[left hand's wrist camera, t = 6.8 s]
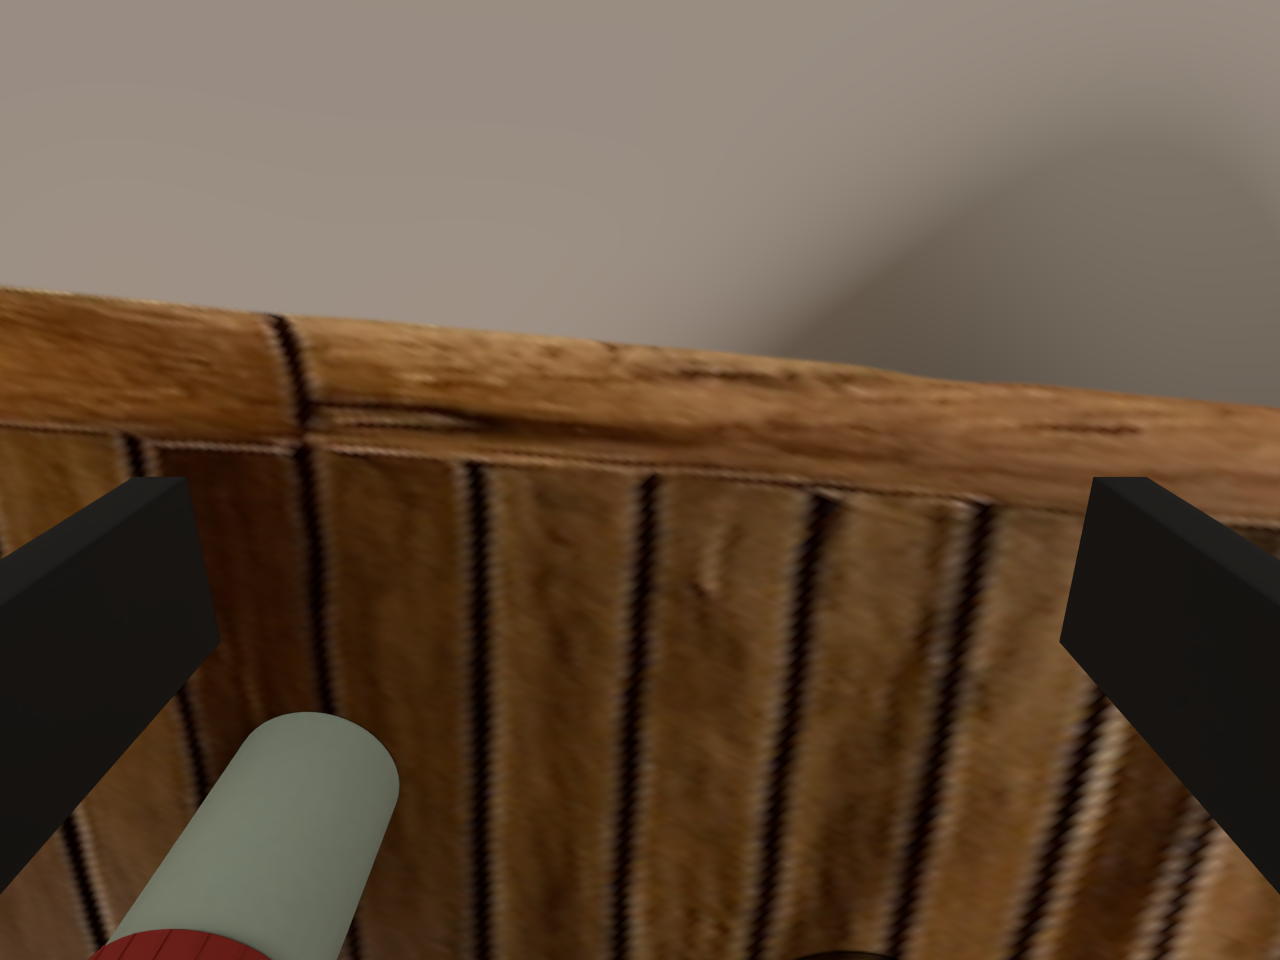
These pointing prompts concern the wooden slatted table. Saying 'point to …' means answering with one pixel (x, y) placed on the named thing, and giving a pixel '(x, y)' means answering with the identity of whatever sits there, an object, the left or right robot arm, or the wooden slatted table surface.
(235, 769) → the jar
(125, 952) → the lid
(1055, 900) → the wooden slatted table surface
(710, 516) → the wooden slatted table surface
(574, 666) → the wooden slatted table surface
